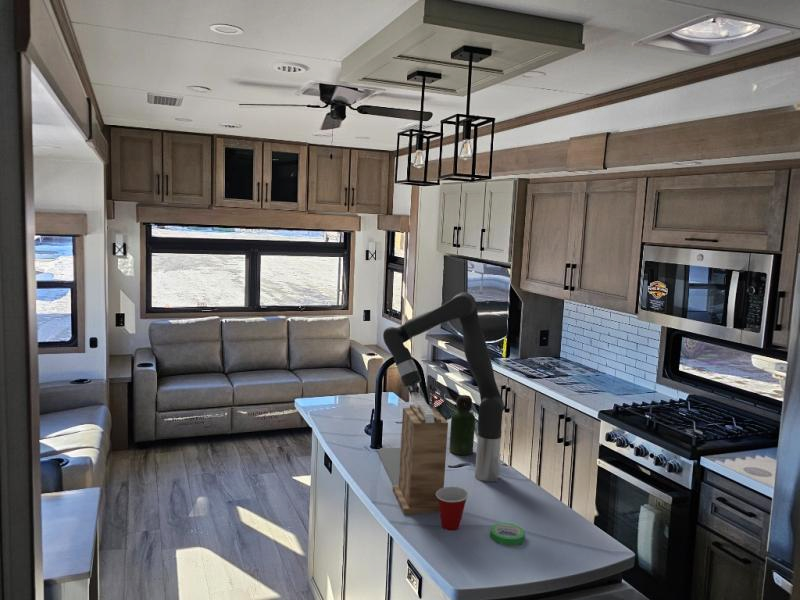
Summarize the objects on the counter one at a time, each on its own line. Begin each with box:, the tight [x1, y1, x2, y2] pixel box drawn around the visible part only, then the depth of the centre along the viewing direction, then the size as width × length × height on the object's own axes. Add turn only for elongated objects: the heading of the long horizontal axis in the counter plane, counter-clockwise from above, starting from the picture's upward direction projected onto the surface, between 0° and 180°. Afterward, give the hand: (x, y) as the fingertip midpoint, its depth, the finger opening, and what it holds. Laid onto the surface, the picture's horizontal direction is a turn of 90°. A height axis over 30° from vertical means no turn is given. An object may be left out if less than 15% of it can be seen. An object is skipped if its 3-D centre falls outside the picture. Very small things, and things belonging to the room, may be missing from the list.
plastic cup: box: [436, 486, 469, 532], centre depth 219 cm, size 11×11×12 cm
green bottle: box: [448, 394, 476, 456], centre depth 290 cm, size 10×10×25 cm
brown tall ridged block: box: [392, 404, 449, 515], centre depth 237 cm, size 20×16×33 cm
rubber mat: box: [376, 447, 401, 486], centre depth 270 cm, size 42×14×1 cm, turn 12°
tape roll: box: [489, 522, 526, 547], centre depth 215 cm, size 11×11×3 cm
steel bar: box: [410, 392, 435, 423], centre depth 240 cm, size 28×3×3 cm, turn 9°
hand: (423, 411), depth 261 cm, fingers open, 8 cm apart
